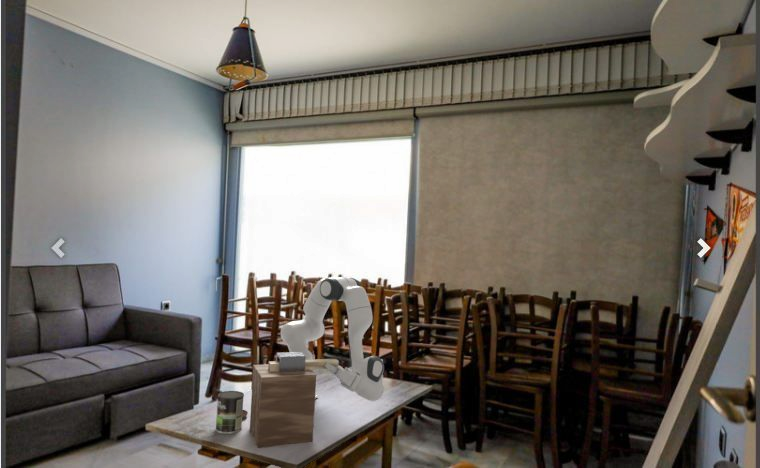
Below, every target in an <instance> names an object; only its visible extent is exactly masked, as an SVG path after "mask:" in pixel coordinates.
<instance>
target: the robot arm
mask: <svg viewBox="0 0 760 468" xmlns="http://www.w3.org/2000/svg"><path fill="white" fill-rule="evenodd" d="M334 301H335V302H336V301H338V302H341V301H342V302H344V304H345V307H346V308H345V309H346V313H347V319H348V329H347V343H348V352H349V367H345V368H343V366H341V365H339V364H338V366H336V367H337V368H336V367H334V366H332V365H330V364H329V363H326V364H325V365H324V366H325V367H326V368H328V369H327V370H328V371H329V372H330V373H331V374H333V376H335V377H336V378H337V379H339V382H340V386H341V387H343V388H345V389H347V390H348V391H350V392H354V393H355V394H356V395H358V396H359V397H361V398H362V399H365V400H367V401H370V402H376V401H378V400H380V398H381V397H382V396H383V394H384V393H385V386H384V383H383V378H384V377H383V376H384V375H383V374H384V373H385V365H384V362H383V359H382V358H381V357H379V356H377V355H371V356H368V357H365V356H364V349H363V337H364V335H365V334H366V332H367V330H368V329H369V328H370V326H371V325H372V323H373V318H374V317H373V309H372V306H371V303H370V299H369V296H368V293H367V291H366V288H364V287H363V286H362V284H361V282H360V281H359V280H358V279H357V278H354V277H347V276H346V277H345V276H338V277H337V276H335V277H332V276H331V277H326V278H321V279H320V280H318V281H317V283H316V284H315V285H314V286H313V288H312V289H311V292H310V294H309V295H308V297H307V299H306V301H305V303H304V305H303V309H302V311H303V312H304V314H305V315H304V317H303V319H300V320H293V321H289V322H287V323H285V324H283V325H282V326H281V329H280V337H281V340H282V341H283V342H284V343H285V344H286V346H287V348H288V351H289V352H302V353H303V354H304V355H305V356H306V358H305V360H314V356H313V353H312V352H311V351H310V350H309V349H308V345H307V344H308V342H309V343H310V342H313V341H316V340H319V339H320V338H322V337H323V336H324V334H325V330H326V329H325V328H326V327H325V324H324V322H323V321H324V317H325V315H326V313H327V311H328V309H329V307H330V306H331V303H332V302H334ZM364 357H365V358H364ZM312 371H313V372H314V369H312ZM316 398H317V399H318V398H319V395H317V394H316V393H315V400H316Z"/></svg>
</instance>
